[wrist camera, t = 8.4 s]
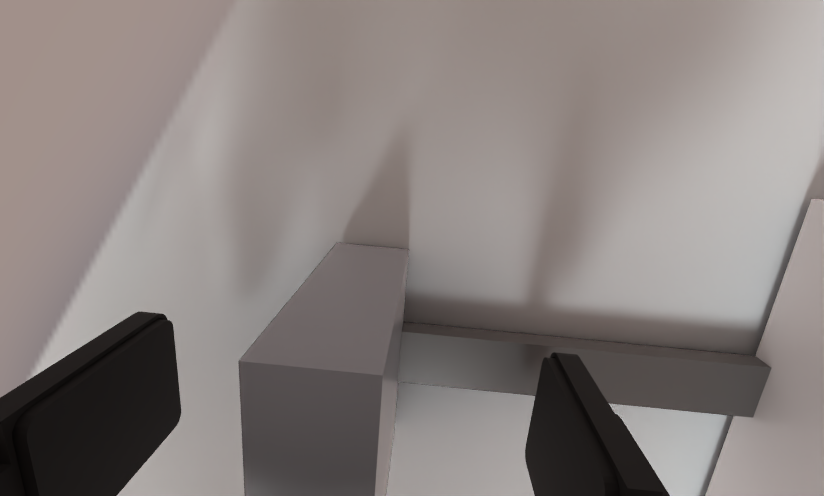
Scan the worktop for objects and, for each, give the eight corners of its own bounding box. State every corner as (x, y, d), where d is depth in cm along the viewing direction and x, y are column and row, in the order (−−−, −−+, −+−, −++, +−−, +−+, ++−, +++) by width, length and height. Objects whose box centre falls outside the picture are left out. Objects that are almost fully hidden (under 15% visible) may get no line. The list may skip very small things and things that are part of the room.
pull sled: (1034, 558, 13) (1494, 890, 7) (330, 481, 14) (255, 734, 8) (1255, 236, 10) (2313, 381, 4) (339, 157, 11) (231, 195, 5)
